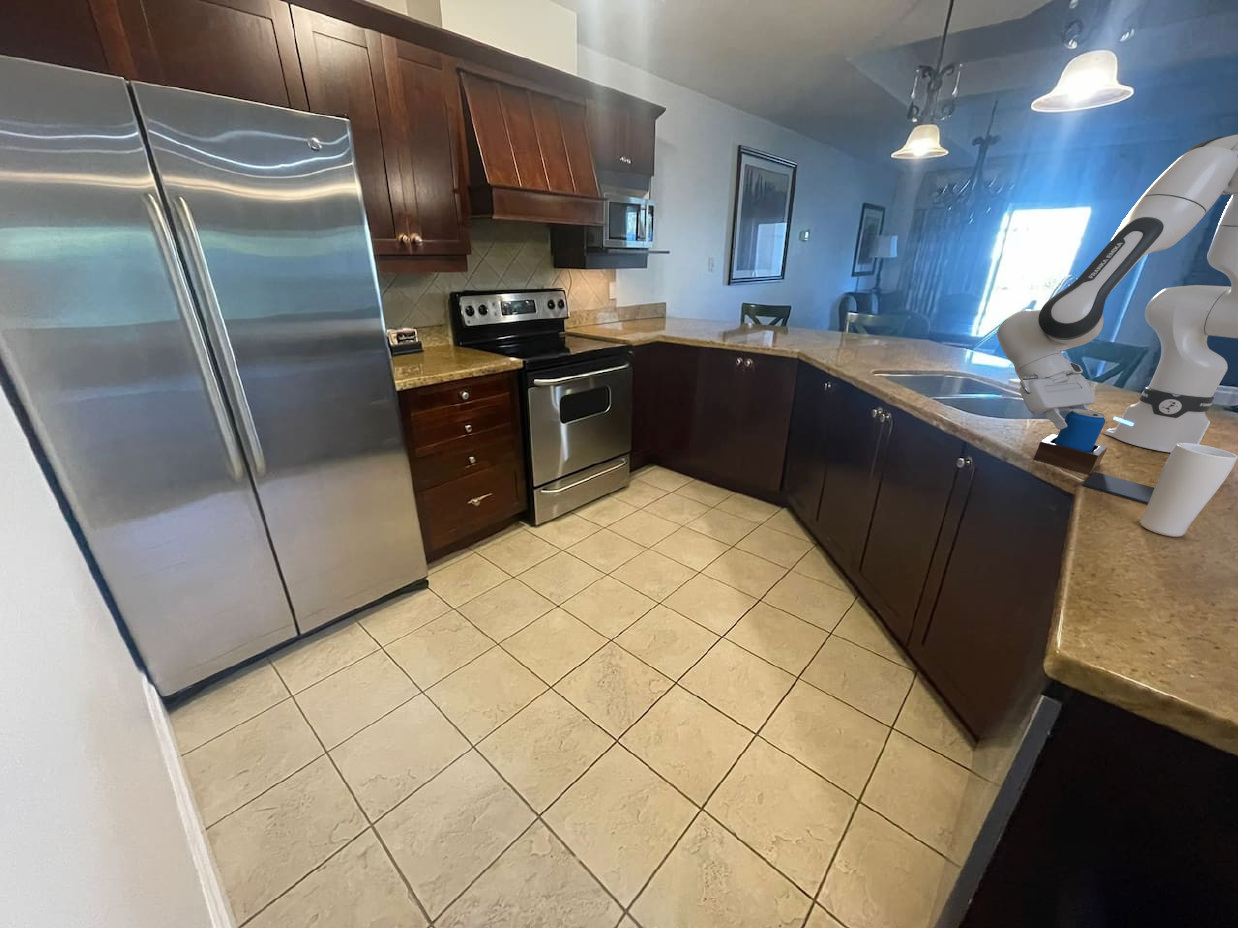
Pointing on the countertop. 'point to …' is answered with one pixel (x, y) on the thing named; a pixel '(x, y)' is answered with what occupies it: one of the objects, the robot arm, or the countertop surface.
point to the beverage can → (1081, 429)
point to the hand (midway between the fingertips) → (1076, 426)
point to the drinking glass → (1186, 487)
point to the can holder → (1069, 455)
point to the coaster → (1119, 487)
